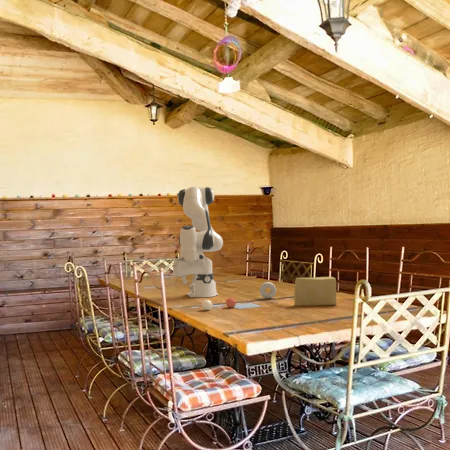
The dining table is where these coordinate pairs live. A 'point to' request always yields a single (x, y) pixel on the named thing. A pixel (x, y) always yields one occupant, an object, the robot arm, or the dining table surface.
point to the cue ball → (207, 305)
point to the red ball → (230, 302)
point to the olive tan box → (315, 291)
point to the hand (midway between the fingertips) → (189, 283)
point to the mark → (246, 306)
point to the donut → (267, 285)
